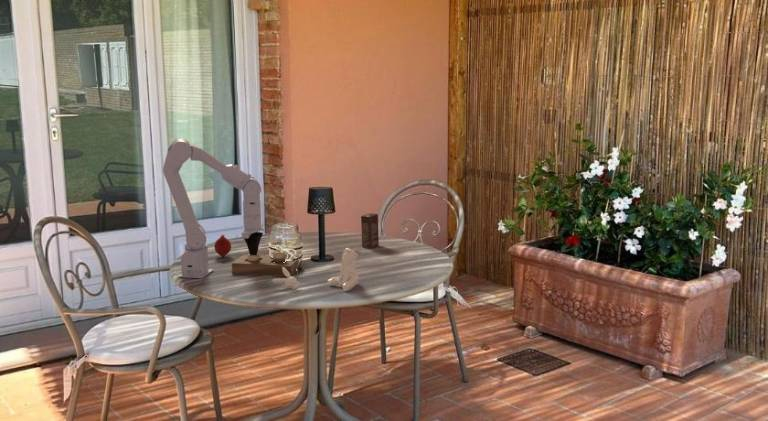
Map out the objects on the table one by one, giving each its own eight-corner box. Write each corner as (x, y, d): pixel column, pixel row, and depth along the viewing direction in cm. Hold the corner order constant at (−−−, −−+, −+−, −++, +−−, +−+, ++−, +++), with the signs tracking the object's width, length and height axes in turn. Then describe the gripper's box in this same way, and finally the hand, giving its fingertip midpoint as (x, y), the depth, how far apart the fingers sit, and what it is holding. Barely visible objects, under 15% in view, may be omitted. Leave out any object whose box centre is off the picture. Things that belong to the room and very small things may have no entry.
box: (368, 243, 295) (368, 212, 293) (379, 245, 293) (378, 213, 291) (360, 247, 290) (360, 215, 288) (371, 248, 288) (371, 216, 286)
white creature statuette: (325, 285, 242) (325, 248, 240) (346, 279, 248) (346, 243, 246) (346, 291, 236) (345, 253, 233) (366, 286, 242) (366, 248, 239)
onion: (229, 259, 273) (228, 236, 272) (213, 258, 273) (212, 236, 272) (233, 254, 279) (232, 233, 278) (217, 254, 279) (216, 232, 278)
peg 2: (283, 263, 255) (283, 253, 255) (271, 262, 256) (271, 253, 255) (287, 260, 259) (286, 250, 258) (275, 259, 260) (275, 250, 259)
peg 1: (257, 265, 257) (257, 256, 256) (245, 265, 258) (245, 255, 257) (261, 262, 261) (261, 253, 260) (250, 262, 262) (249, 252, 261)
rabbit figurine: (290, 291, 236) (270, 277, 238) (290, 298, 239) (270, 284, 241) (303, 278, 239) (282, 264, 241) (303, 284, 242) (283, 270, 244)
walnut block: (290, 276, 252) (290, 266, 251) (232, 273, 256) (231, 262, 255) (300, 267, 262) (300, 257, 262) (244, 264, 266) (243, 254, 265)
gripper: (256, 219, 248) (257, 260, 251) (270, 210, 262) (272, 249, 265) (235, 218, 250) (236, 259, 252) (250, 210, 264) (252, 248, 266)
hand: (253, 254), depth 259 cm, fingers closed, pressing on peg 1
